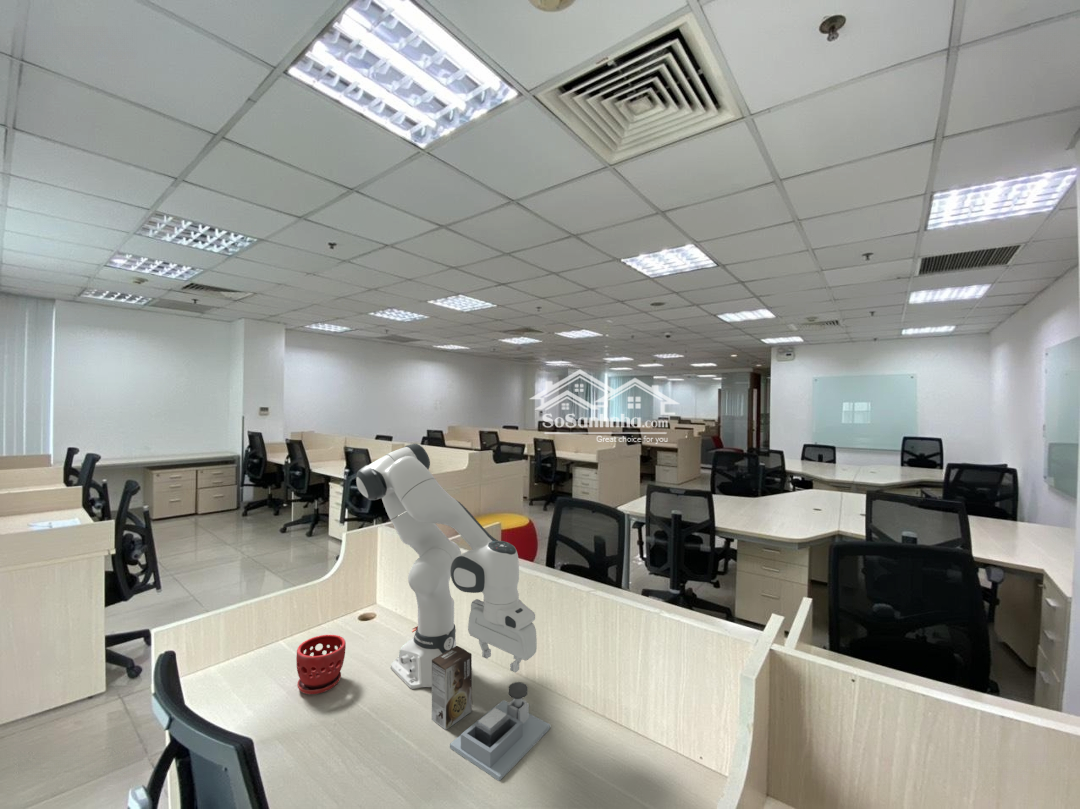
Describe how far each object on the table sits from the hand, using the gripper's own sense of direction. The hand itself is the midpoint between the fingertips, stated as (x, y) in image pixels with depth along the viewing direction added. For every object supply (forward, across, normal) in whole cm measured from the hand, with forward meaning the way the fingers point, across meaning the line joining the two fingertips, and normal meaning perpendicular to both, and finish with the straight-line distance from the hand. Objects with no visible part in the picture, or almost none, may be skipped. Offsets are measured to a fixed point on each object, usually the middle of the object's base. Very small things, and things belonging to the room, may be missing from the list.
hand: (500, 663), depth 111 cm
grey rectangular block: (+18, 0, -3) cm, 18 cm away
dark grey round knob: (+14, 0, +7) cm, 16 cm away
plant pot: (+20, -57, -16) cm, 62 cm away
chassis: (+19, 0, +1) cm, 19 cm away
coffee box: (+19, -16, -2) cm, 25 cm away
